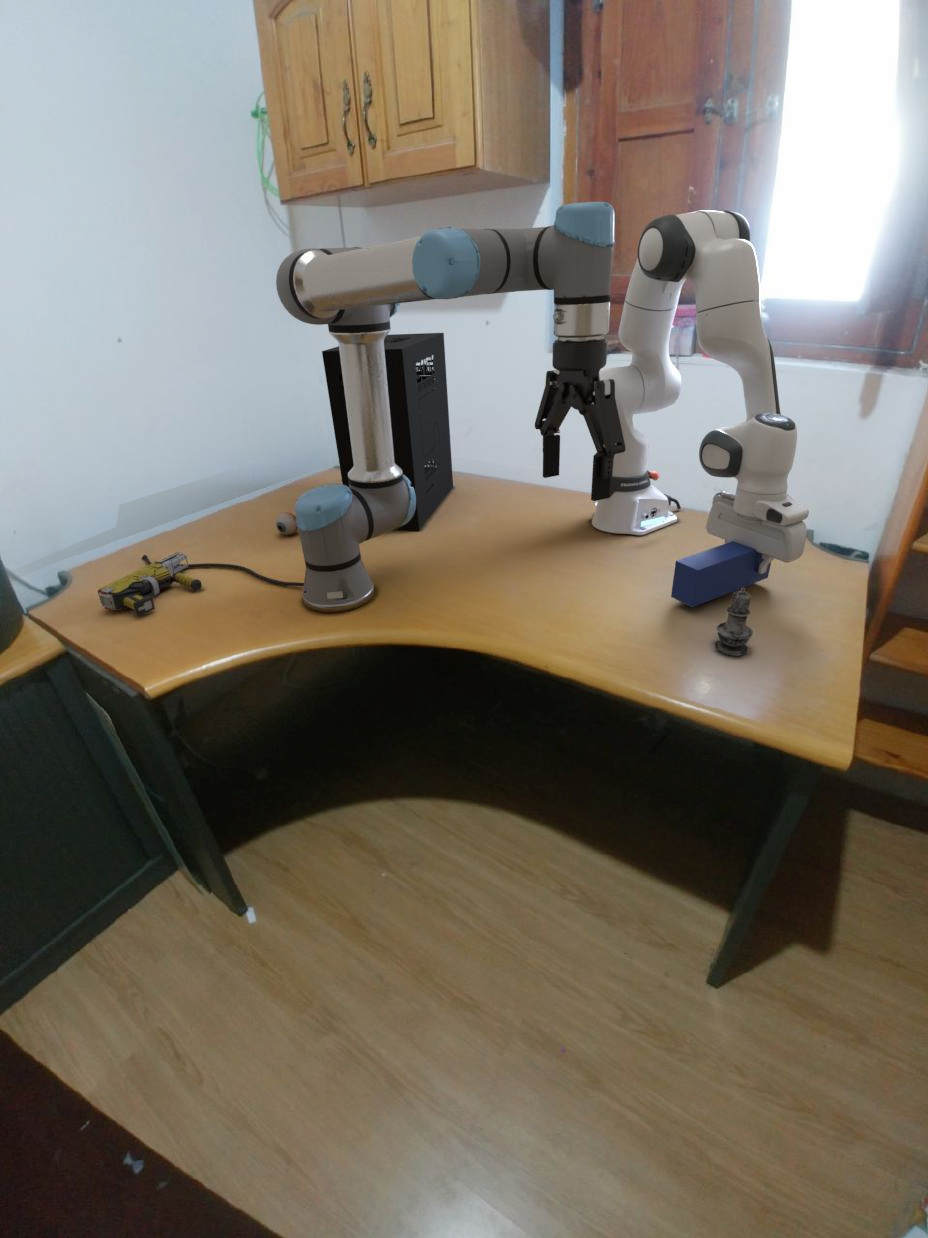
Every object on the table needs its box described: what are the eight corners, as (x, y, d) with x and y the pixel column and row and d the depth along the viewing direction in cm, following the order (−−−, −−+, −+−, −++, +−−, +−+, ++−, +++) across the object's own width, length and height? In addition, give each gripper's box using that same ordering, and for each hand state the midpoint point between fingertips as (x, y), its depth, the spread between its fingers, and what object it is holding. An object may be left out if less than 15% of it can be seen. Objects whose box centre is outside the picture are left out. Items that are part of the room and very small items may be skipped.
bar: (745, 568, 129) (752, 534, 125) (767, 577, 125) (775, 542, 121) (670, 596, 120) (675, 560, 116) (692, 607, 116) (697, 570, 112)
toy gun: (225, 560, 144) (174, 549, 148) (148, 603, 124) (91, 589, 127) (228, 578, 146) (177, 567, 150) (152, 623, 126) (96, 609, 130)
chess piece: (752, 657, 103) (766, 595, 97) (715, 655, 104) (727, 594, 98) (745, 639, 108) (758, 579, 102) (711, 637, 109) (721, 578, 103)
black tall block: (419, 530, 162) (402, 348, 140) (349, 527, 167) (321, 351, 144) (453, 486, 194) (443, 332, 171) (393, 485, 198) (376, 334, 176)
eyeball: (273, 537, 164) (268, 516, 161) (287, 528, 169) (282, 508, 166) (291, 539, 161) (286, 518, 158) (305, 530, 166) (301, 510, 163)
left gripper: (513, 334, 92) (514, 471, 103) (613, 347, 72) (602, 515, 83) (554, 330, 95) (552, 464, 105) (663, 341, 75) (645, 505, 85)
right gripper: (704, 491, 124) (695, 553, 131) (795, 520, 108) (779, 588, 115) (725, 485, 127) (715, 546, 133) (817, 512, 111) (800, 580, 118)
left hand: (574, 487), depth 94 cm, fingers open, 13 cm apart
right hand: (745, 566), depth 124 cm, fingers closed on bar, 5 cm apart
